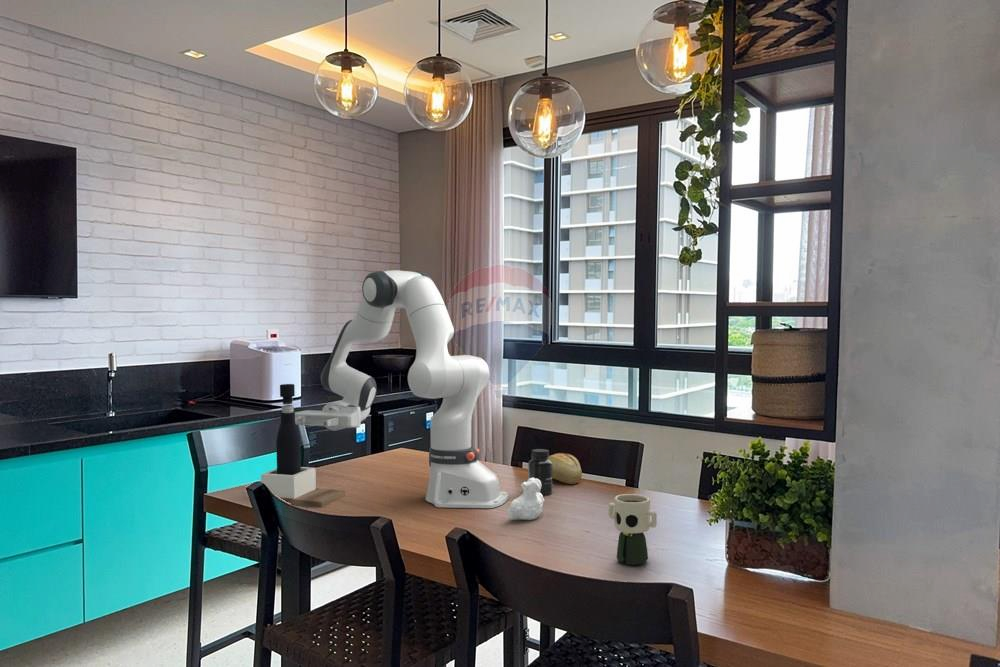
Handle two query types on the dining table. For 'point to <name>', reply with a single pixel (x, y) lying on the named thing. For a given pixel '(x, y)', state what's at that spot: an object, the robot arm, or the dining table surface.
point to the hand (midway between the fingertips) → (311, 422)
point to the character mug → (632, 526)
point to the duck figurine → (527, 502)
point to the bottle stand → (300, 488)
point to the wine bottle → (288, 436)
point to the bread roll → (565, 468)
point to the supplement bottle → (541, 470)
